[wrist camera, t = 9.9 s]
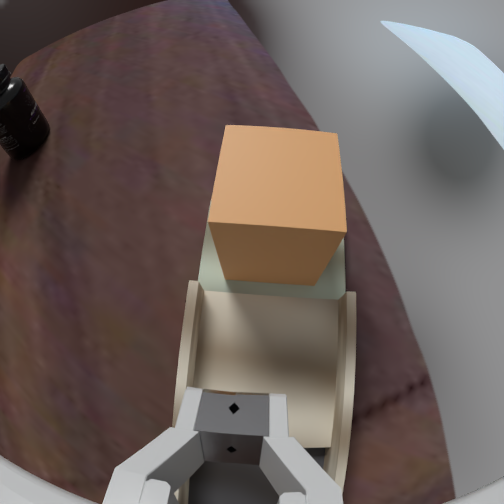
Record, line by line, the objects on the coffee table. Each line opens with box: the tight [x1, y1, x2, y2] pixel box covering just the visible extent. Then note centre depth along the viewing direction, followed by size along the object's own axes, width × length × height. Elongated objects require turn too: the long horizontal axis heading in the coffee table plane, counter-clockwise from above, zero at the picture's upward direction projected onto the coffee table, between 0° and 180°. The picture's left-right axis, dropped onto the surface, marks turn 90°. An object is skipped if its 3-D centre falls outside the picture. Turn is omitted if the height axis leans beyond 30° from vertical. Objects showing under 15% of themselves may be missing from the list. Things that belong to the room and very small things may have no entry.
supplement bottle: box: [0, 64, 49, 160], centre depth 24 cm, size 7×7×12 cm
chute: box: [172, 202, 356, 504], centre depth 17 cm, size 25×10×4 cm, turn 175°
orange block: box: [208, 125, 347, 286], centre depth 18 cm, size 6×6×8 cm
